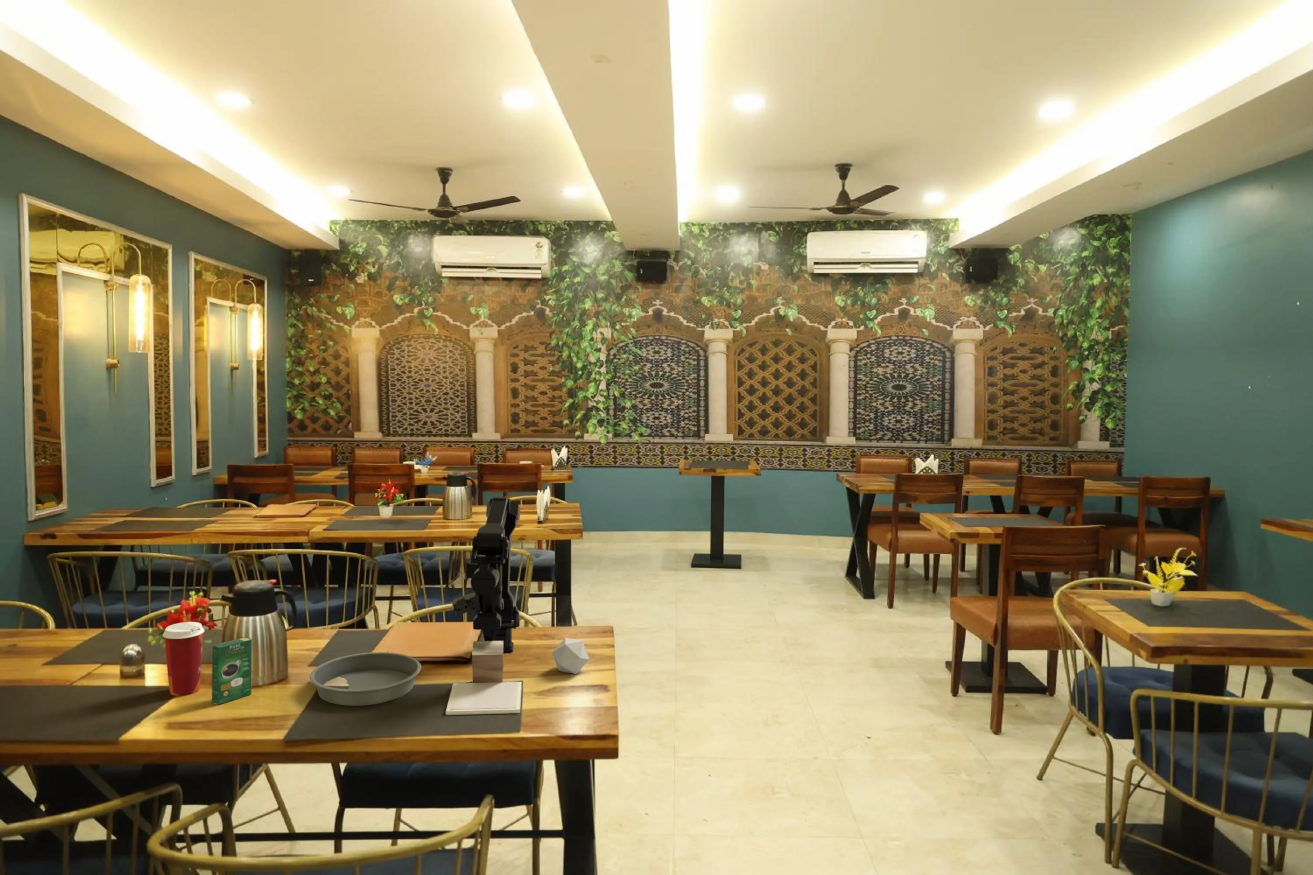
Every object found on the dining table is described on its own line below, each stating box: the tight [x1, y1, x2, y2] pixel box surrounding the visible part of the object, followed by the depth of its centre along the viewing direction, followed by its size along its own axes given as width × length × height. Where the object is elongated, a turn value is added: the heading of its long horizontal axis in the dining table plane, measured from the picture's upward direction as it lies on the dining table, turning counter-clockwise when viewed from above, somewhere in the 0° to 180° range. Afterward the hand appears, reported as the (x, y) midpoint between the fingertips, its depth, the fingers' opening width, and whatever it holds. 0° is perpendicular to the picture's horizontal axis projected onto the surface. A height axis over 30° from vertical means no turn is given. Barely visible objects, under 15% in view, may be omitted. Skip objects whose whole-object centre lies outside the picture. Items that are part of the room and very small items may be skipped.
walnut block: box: [471, 640, 504, 683], centre depth 199 cm, size 4×7×10 cm, turn 97°
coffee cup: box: [162, 621, 205, 697], centre depth 190 cm, size 8×8×15 cm
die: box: [551, 637, 590, 675], centre depth 211 cm, size 8×9×10 cm
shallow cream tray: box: [445, 681, 523, 716], centre depth 191 cm, size 16×16×1 cm
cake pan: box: [309, 651, 422, 706], centre depth 196 cm, size 25×25×4 cm
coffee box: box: [211, 636, 253, 705], centre depth 187 cm, size 8×3×13 cm, turn 147°
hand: (488, 647), depth 201 cm, fingers closed
